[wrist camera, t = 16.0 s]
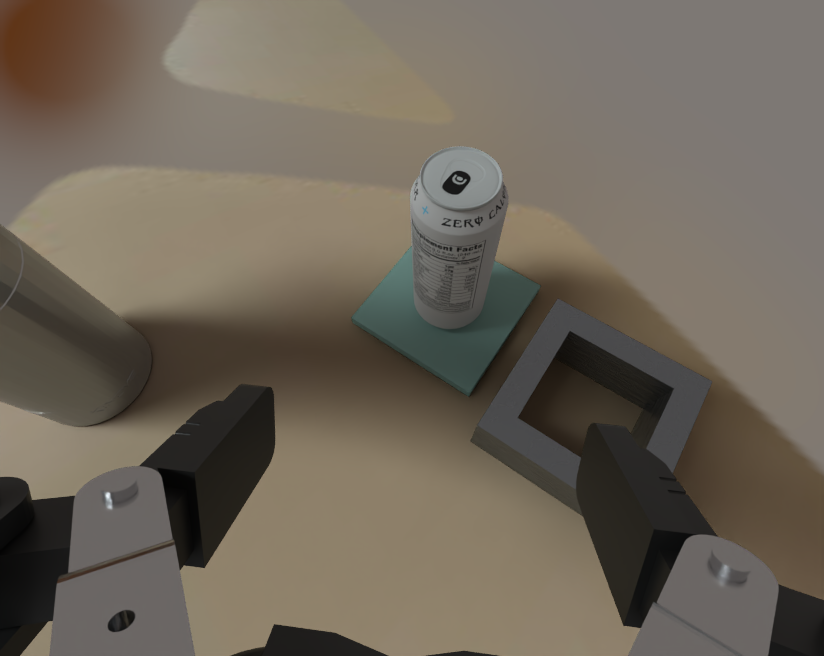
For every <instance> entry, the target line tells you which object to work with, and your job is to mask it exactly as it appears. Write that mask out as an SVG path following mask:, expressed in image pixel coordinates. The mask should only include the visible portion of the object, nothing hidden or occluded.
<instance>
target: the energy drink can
mask: <svg viewBox="0 0 824 656" xmlns="http://www.w3.org/2000/svg"><path fill="white" fill-rule="evenodd" d="M507 207H508V193H507V190H506V187H505V185H504V183H503V175H502V171H501V168H500V167H499V165H498V163H497V162H496V161H495V160H494V159H493V158H492V157H491V156H490V155H488V154H487V153H485V152H483V151H481V150H478V149H475V148H471V147H462V146H461V147H460V146H459V147H450V148H446V149H443V150H440V151H438V152H436V153H434V154H433V155H431V156H430V157H429V158H428V159H427V160H426V161H425V163H424V164H423V166H422V169H421V171H420V175H419V176H418V178H417V179H416V181H415V182H414V184H413V186H412V189H411V194H410V210H411V237H412V265H413V292H414V304H415V307H416V310H417V311H418V313H419V315H420V316H421V317H422V318H423V319H424V320H425V321H427V322H428V323H429V324H431V325H434V326H436V327H439V328H443V329H456V328H460V327H464V326H466V325H468V324H470V323H471V322H473V321H474V320H475V319H476V318H477V317H478V316H479V314H480V313H481V311H482V309H483V305H484V301H485V297H486V293H487V289H488V285H489V281H490V277H491V272H492V268H493V264H494V260H495V256H496V252H497V248H498V244H499V240H500V235H501V231H502V227H503V223H504V219H505V215H506V211H507Z"/></svg>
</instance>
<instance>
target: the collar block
mask: <svg viewBox="0 0 824 656" xmlns="http://www.w3.org/2000/svg"><path fill="white" fill-rule="evenodd" d="M553 358H556V359H558V360H560V361H561V362H563V363H565V364H567V365H568V366H570V367H572V368H573V369H575V370H577V371H579V372H580V373H582V374H584V375H586V376H587V377H589V378H591V379H593V380H594V381H596V382H598V383H599V384H601V385H603V386H605V387H606V388H608V389H610V390H612V391H613V392H615V393H617V394H619V395H620V396H622V397H624V398H625V399H627V400H629V401H631V402H632V403H634V404H636V405H638V406H639V407H641V408H643V410H642V412H641V414H640V417H639V419H638V421H637V423H636V425H635V427H634V429H633V431H632V433H631V436H632V437H633V439H634V440H635V442H636V443H637V445H638V446H639V448H641V449H647V450H649V451H650V452H651V453H653V454H654V455H655V456H656V457H658V458H659V459H660V460H662V461H663V462H664V463H665V464H666V465H667V466H668V468H669V469H670V471H671V472H672V473H673V471H674V469H675V467H676V464H677V462H678V460H679V457H680V455H681V453H682V450H683V448H684V446H685V443H686V441H687V439H688V437H689V434H690V432H691V430H692V427H693V425H694V423H695V420H696V418H697V416H698V413H699V411H700V409H701V407H702V404H703V402H704V400H705V397H706V395H707V393H708V390H709V388H710V386H711V383H712V381H710V380H709V379H707V378H705V377H703V376H701V375H699V374H697V373H696V372H694V371H692V370H690V369H688V368H686V367H684V366H683V365H681V364H679V363H677V362H675V361H673V360H671V359H670V358H668V357H666V356H664V355H662V354H660V353H658V352H657V351H655V350H653V349H651V348H649V347H647V346H645V345H643V344H642V343H640V342H638V341H636V340H634V339H632V338H630V337H629V336H627V335H625V334H623V333H621V332H619V331H617V330H616V329H614V328H612V327H610V326H608V325H606V324H604V323H603V322H601V321H599V320H597V319H595V318H593V317H591V316H590V315H588V314H586V313H584V312H582V311H580V310H578V309H577V308H575V307H573V306H571V305H569V304H567V303H565V302H563V301H562V300H560V299H557V301H556V302H555V304H554V305H553V307H552V308H551V310H550V312H549V313H548V315H547V316H546V318H545V319H544V321H543V323H542V324H541V326H540V327H539V329H538V330H537V332H536V334H535V335H534V337H533V338H532V340H531V341H530V343H529V345H528V346H527V348H526V349H525V351H524V352H523V354H522V356H521V357H520V359H519V360H518V362H517V363H516V365H515V367H514V368H513V370H512V371H511V373H510V374H509V376H508V378H507V379H506V381H505V382H504V384H503V385H502V387H501V389H500V390H499V392H498V393H497V395H496V396H495V398H494V400H493V401H492V403H491V404H490V406H489V407H488V409H487V411H486V412H485V414H484V415H483V417H482V418H481V420H480V422H479V423H478V425H477V427H476V429H475V432H474V434H473V436H472V439H471V442H472V443H474V444H475V445H477V446H478V447H480V448H481V449H483V450H484V451H486V452H487V453H489V454H490V455H492V456H493V457H495V458H496V459H498V460H499V461H501V462H502V463H504V464H505V465H507V466H508V467H510V468H511V469H513V470H514V471H516V472H517V473H519V474H520V475H522V476H523V477H525V478H526V479H528V480H529V481H531V482H532V483H534V484H535V485H537V486H538V487H540V488H541V489H543V490H544V491H546V492H547V493H549V494H550V495H552V496H553V497H555V498H556V499H558V500H559V501H561V502H562V503H564V504H565V505H567V506H568V507H570V508H571V509H573V510H574V511H576V512H577V513H579V514H580V515H582V516H583V514H582V512H581V509H580V506H579V504H578V500H577V495H576V479H577V473H578V469H579V464H580V460H581V457H579V456H577V455H576V454H574V453H573V452H571V451H570V450H568V449H566V448H565V447H563V446H562V445H560V444H558V443H557V442H555V441H554V440H552V439H551V438H549V437H547V436H546V435H544V434H543V433H541V432H539V431H538V430H536V429H535V428H533V427H531V426H530V425H528V424H527V423H525V422H524V421H522V420H520V419H519V418H518V416H519V414H520V413H521V411H522V409H523V408H524V406H525V404H526V403H527V401H528V399H529V398H530V396H531V394H532V393H533V391H534V389H535V388H536V386H537V384H538V383H539V381H540V379H541V378H542V376H543V374H544V373H545V371H546V370H547V368H548V366H549V365H550V363H551V361H552V360H553Z"/></svg>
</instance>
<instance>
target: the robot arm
mask: <svg viewBox="0 0 824 656" xmlns="http://www.w3.org/2000/svg"><path fill="white" fill-rule="evenodd" d="M151 363H152V357H151V350H150V347H149V345H148V342H147V341H146V339H145V338H144V337H143V335H142V334H140V333H139V332H138V331H137V330H135V329H134V328H133V327H132V326H130V325H129V324H128V323H126V322H125V321H124V320H123V319H121V318H120V317H119V316H118V315H116V314H115V313H114V312H113V311H112V310H110V309H109V308H108V307H106V306H105V305H104V304H103V303H101V302H100V301H99V300H97V299H96V298H95V297H94V296H92V295H91V294H90V293H89V292H87V291H86V290H85V289H83V288H82V287H81V286H80V285H78V284H77V283H76V282H74V281H73V280H72V279H71V278H69V277H68V276H67V275H65V274H64V273H63V272H62V271H60V270H59V269H58V268H56V267H55V266H54V265H53V264H51V263H50V262H49V261H47V260H46V259H45V258H44V257H42V256H41V255H40V254H38V253H37V252H36V251H35V250H33V249H32V248H31V247H29V246H28V245H27V244H26V243H24V242H23V241H22V240H21V239H19V238H18V237H17V236H15V235H14V234H13V233H12V232H10V231H9V230H7V229H6V228H5V227H3V226H2V225H1V224H0V401H1V402H4V403H6V404H9V405H12V406H15V407H17V408H20V409H23V410H25V411H28V412H31V413H33V414H36V415H39V416H42V417H45V418H47V419H50V420H53V421H56V422H59V423H61V424H65V425H70V426H88V425H93V424H98V423H100V422H103V421H105V420H108V419H110V418H112V417H113V416H115V415H117V414H118V413H120V412H121V411H123V410H124V409H125V408H126V407H127V406H128V405H130V404H131V403H132V402H133V401H134V400H135V398H136V397H137V396H138V395H139V394H140V392H141V391H142V389H143V387H144V385H145V384H146V382H147V379H148V377H149V374H150V371H151ZM274 448H275V416H274V394H273V390H272V388H271V387H264V386H255V385H246V384H241V385H239V386H238V387H237V388H236V389H235V390H234V391H233V392H232V393H231V394H230V395H229V396H228V397H227V398H226V399H225V400H224V401H216V402H214V403H212V404H210V405H208V406H206V407H204V408H202V409H200V410H198V411H197V412H196V413H195V414H194V415H193V416H192V417H191V418H190V419H189V420H187V421H186V424H183V425H182V426H181V427H180V428H179V429H178V430H177V431H176V433H175V435H174V434H173V435H172V436H171V437H169V438H168V439H167V440H166V441H165V442H164V443H163V444H162V445H161V446H160V447H159V448H158V449H157V450H156V451H155V452H154V453H153V454H151V455H150V456H149V457H148V458H147V459H146V460H145V461H144V462H143V463H142V464H141V465H140V466H132V467H124V468H119V469H116V470H112V471H109V472H106V473H104V474H102V475H100V476H97V477H96V478H94V479H92V480H91V481H89V482H88V483H86V484H85V485H84V486H83V487H82V488H81V489H80V490H79V491H78V492H77V494H76V496H68V497H58V498H49V499H39V500H32V498H31V494H30V491H29V487H28V484H27V483H26V482H25V481H24V480H22V479H19V478H15V477H0V656H20V655H21V654H22V652H23V651H24V650H25V649H26V648H27V646H28V645H29V644H30V643H31V642H32V640H33V639H34V638H35V637H36V636H37V634H38V633H39V632H40V631H41V630H42V628H43V627H44V626H45V625H46V623H47V622H48V621H53V625H52V635H51V645H50V654H49V656H195V652H194V647H193V641H192V636H191V630H190V624H189V619H188V613H187V608H186V602H185V597H184V591H183V586H182V580H181V575H180V570H181V568H182V567H183V565H186V566H194V567H201V568H205V566H206V565H207V563H208V562H209V560H210V558H211V557H212V555H213V554H214V552H215V550H216V549H217V547H218V546H219V544H220V542H221V541H222V539H223V538H224V536H225V534H226V533H227V531H228V530H229V528H230V527H231V525H232V523H233V522H234V520H235V519H236V517H237V515H238V514H239V512H240V511H241V509H242V507H243V506H244V504H245V503H246V501H247V499H248V498H249V496H250V495H251V493H252V491H253V490H254V488H255V487H256V485H257V483H258V482H259V480H260V479H261V477H262V475H263V474H264V472H265V471H266V469H267V467H268V466H269V464H270V462H271V459H272V457H273V453H274ZM576 495H577V500H578V504H579V506H580V509H581V512H582V514H583V517H584V520H585V523H586V525H587V528H588V531H589V533H590V536H591V539H592V541H593V544H594V547H595V550H596V552H597V555H598V558H599V560H600V563H601V566H602V569H603V571H604V574H605V577H606V579H607V582H608V585H609V588H610V590H611V593H612V596H613V598H614V601H615V604H616V607H617V609H618V612H619V615H620V617H621V620H622V623H623V626H630V627H638V628H641V629H640V631H639V633H638V635H637V638H636V640H635V642H634V644H633V646H632V648H631V650H630V652H629V655H628V656H824V600H821V599H818V598H815V597H812V596H809V595H807V594H804V593H801V592H798V591H795V590H792V589H789V588H786V587H784V586H781V585H778V582H777V580H776V578H775V576H774V574H773V573H772V572H771V570H770V569H769V568H768V567H767V566H766V565H765V564H764V563H763V562H762V561H761V560H760V559H759V558H758V557H756V556H755V555H754V554H752V553H751V552H749V551H748V550H746V549H745V548H743V547H741V546H739V545H737V544H735V543H733V542H731V541H729V540H726V539H723V538H720V537H718V536H717V535H716V534H715V532H714V531H713V529H712V528H711V527H710V525H709V524H708V522H707V521H706V520H705V518H704V517H703V515H702V514H701V513H700V511H699V510H698V508H697V507H696V506H695V504H694V503H693V501H692V500H691V499H690V497H689V496H688V495H686V492H685V490H684V489H683V487H682V486H681V485H680V483H679V482H676V478H675V476H674V475H673V473H672V472H671V471H670V469H669V468H668V466H667V465H666V464H665V463H664V462H663V461H662V460H660V459H659V458H658V457H656V456H655V455H654V454H653V453H651V452H650V451H649V450H647V449H641V448H639V446H638V445H637V443H636V442H635V440H634V439H633V437H632V436H631V434H630V433H629V431H628V430H627V428H626V427H624V426H617V425H608V424H599V423H592V424H591V425H590V426H589V428H588V431H587V434H586V439H585V443H584V447H583V452H582V456H581V460H580V464H579V469H578V473H577V479H576ZM231 656H388V655H385V654H383V653H381V652H378V651H376V650H374V649H371V648H369V647H367V646H364V645H362V644H360V643H357V642H355V641H353V640H350V639H348V638H346V637H343V636H341V635H339V634H336V633H332V632H325V631H318V630H311V629H304V628H297V627H289V626H282V625H275V624H274V626H273V628H272V631H271V634H270V636H269V639H268V641H267V644H266V646H265V647H261V648H255V649H251V650H247V651H243V652H239V653H237V654H234V655H231ZM428 656H497V655H490V654H483V653H476V652H469V651H459V652H451V653H443V654H435V655H428Z"/></svg>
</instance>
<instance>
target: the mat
mask: <svg viewBox="0 0 824 656" xmlns="http://www.w3.org/2000/svg"><path fill="white" fill-rule="evenodd" d="M540 287H541V285H539V284H537V283H535V282H533V281H531V280H529V279H528V278H526V277H524V276H522V275H520V274H518V273H516V272H514V271H513V270H511V269H509V268H507V267H505V266H503V265H501V264H500V263H498V262H496V261H494V264H493V268H492V272H491V277H490V281H489V285H488V289H487V293H486V297H485V301H484V305H483V309H482V311H481V313H480V314H479V316H478V317H477V318H476V319H475V320H474V321H473V322H471V323H470V324H468V325H466V326H464V327H460V328H456V329H443V328H439V327H436V326H434V325H431V324H429V323H428V322H427V321H425V320H424V319H423V318H422V317H421V316H420V315H419V313H418V311H417V310H416V307H415V304H414V292H413V265H412V246H411V247H410V248H409V249H408V251H407V252H406V253H405V254H404V255H403V257H402V258H401V259H400V260H399V261H398V263H397V264H396V265H395V266H394V267H393V269H392V270H391V271H390V272H389V273H388V274H387V276H386V277H385V278H384V279H383V280H382V282H381V283H380V284H379V285H378V286H377V288H376V289H375V290H374V291H373V292H372V293H371V295H370V296H369V297H368V298H367V299H366V301H365V302H364V303H363V304H362V305H361V307H360V308H359V309H358V310H357V311H356V313H355V314H354V315H353V316H352V317H351V318H352V322H353V323H354V324H355V325H357V326H359V327H360V328H362V329H363V330H365V331H366V332H368V333H370V334H371V335H373V336H374V337H376V338H377V339H379V340H381V341H382V342H384V343H385V344H387V345H388V346H390V347H392V348H393V349H395V350H396V351H398V352H399V353H401V354H403V355H404V356H406V357H407V358H409V359H410V360H412V361H414V362H415V363H417V364H418V365H420V366H421V367H423V368H425V369H426V370H428V371H429V372H431V373H432V374H434V375H436V376H437V377H439V378H440V379H442V380H443V381H445V382H447V383H448V384H450V385H451V386H453V387H454V388H456V389H457V390H459V391H461V392H462V393H464V394H465V395H467V396H468V397H469V395H470V394H471V392H472V391H473V389H474V388H475V386H476V385H477V383H478V382H479V380H480V379H481V377H482V376H483V374H484V373H485V371H486V370H487V368H488V367H489V365H490V364H491V362H492V361H493V359H494V358H495V356H496V355H497V353H498V352H499V350H500V349H501V347H502V346H503V344H504V343H505V341H506V340H507V338H508V337H509V335H510V334H511V332H512V331H513V329H514V328H515V326H516V325H517V323H518V321H519V320H520V318H521V317H522V315H523V314H524V312H525V311H526V309H527V308H528V306H529V305H530V303H531V302H532V300H533V299H534V297H535V296H536V294H537V293H538V291H539V289H540Z"/></svg>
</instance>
